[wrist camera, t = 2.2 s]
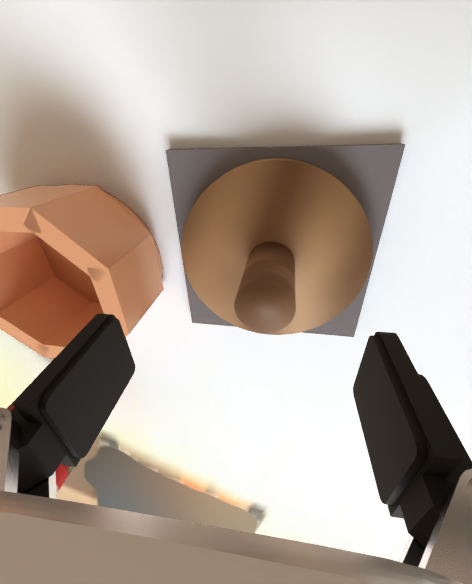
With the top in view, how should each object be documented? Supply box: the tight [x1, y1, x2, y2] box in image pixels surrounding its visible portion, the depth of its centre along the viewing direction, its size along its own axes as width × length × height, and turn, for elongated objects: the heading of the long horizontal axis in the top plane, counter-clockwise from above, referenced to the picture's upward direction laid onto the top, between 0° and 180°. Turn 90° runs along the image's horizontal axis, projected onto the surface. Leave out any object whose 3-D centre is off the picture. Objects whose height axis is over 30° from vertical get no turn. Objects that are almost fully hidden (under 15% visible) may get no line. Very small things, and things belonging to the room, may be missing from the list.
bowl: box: [0, 184, 163, 358], centre depth 19 cm, size 11×11×6 cm
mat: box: [166, 144, 405, 337], centre depth 18 cm, size 13×13×1 cm
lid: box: [182, 158, 373, 335], centre depth 16 cm, size 12×12×6 cm
